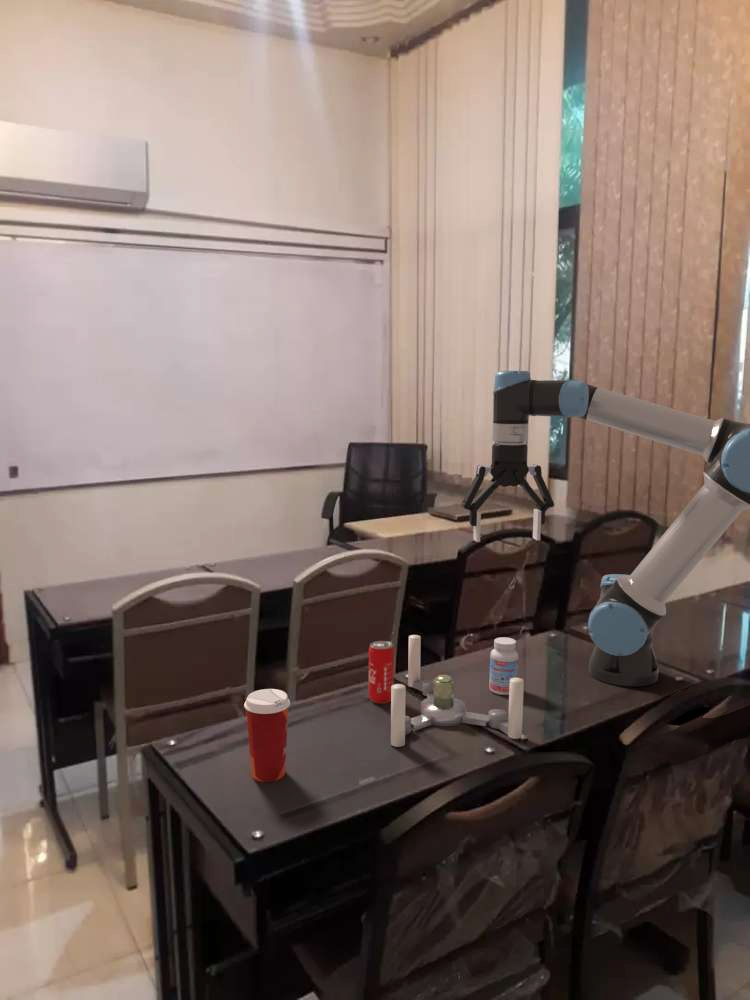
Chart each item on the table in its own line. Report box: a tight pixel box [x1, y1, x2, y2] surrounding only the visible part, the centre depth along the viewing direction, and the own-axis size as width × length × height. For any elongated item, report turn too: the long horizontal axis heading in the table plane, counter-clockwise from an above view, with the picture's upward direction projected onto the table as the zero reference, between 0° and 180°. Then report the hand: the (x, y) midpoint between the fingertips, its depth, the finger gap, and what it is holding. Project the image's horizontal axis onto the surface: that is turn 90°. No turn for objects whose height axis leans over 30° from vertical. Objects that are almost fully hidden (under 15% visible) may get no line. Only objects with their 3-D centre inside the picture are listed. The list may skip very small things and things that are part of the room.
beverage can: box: [368, 640, 395, 704], centre depth 164 cm, size 5×5×12 cm
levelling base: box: [410, 674, 489, 732], centre depth 158 cm, size 17×14×8 cm
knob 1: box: [390, 683, 412, 748], centre depth 147 cm, size 9×4×11 cm, turn 171°
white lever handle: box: [407, 634, 434, 697], centre depth 168 cm, size 9×4×11 cm, turn 39°
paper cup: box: [243, 688, 291, 783], centre depth 133 cm, size 8×8×14 cm
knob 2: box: [487, 677, 525, 740], centre depth 150 cm, size 9×4×11 cm, turn 27°
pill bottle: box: [488, 636, 520, 696], centre depth 169 cm, size 6×6×11 cm
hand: (506, 540), depth 172 cm, fingers open, 13 cm apart
